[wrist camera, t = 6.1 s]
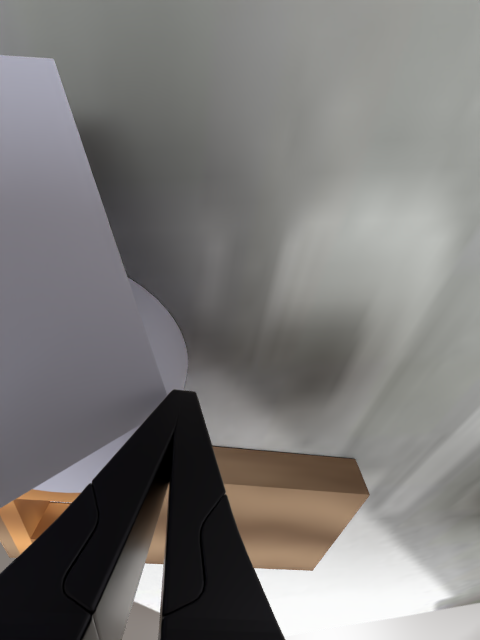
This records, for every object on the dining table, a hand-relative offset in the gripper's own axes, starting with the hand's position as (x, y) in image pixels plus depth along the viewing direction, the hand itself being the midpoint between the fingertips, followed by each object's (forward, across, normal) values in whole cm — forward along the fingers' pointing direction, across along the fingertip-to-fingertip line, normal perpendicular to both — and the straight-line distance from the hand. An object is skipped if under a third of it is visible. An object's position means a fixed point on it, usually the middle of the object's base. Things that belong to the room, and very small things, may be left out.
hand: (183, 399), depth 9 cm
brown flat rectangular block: (+4, 0, +12) cm, 13 cm away
